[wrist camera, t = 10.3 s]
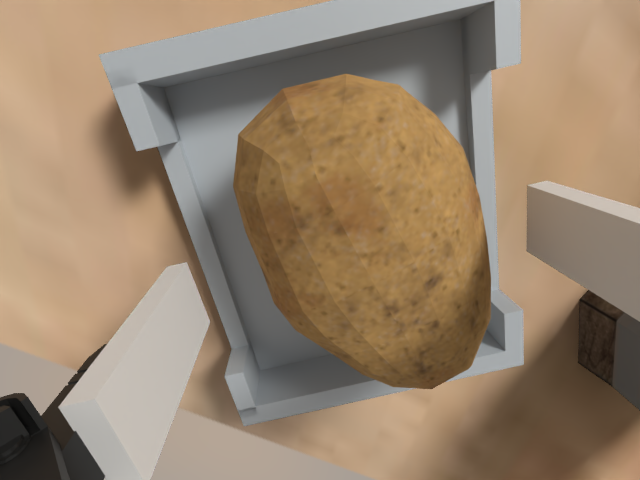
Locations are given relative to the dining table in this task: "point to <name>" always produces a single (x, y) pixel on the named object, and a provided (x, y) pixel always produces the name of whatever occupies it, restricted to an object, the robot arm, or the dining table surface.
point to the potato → (367, 228)
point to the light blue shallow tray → (250, 98)
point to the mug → (610, 345)
